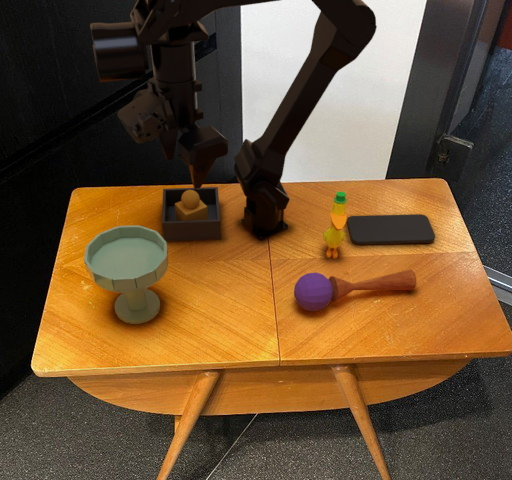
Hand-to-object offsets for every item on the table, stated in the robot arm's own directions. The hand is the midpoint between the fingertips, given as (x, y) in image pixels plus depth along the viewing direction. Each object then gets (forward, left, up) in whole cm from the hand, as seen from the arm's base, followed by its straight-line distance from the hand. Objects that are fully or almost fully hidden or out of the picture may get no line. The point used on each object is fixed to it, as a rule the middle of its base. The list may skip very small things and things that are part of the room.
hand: (183, 173), depth 87 cm
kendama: (-14, +28, -13) cm, 34 cm away
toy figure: (-18, +18, -13) cm, 29 cm away
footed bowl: (+15, +10, -13) cm, 23 cm away
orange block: (-3, -3, -13) cm, 13 cm away
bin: (-3, -3, -13) cm, 14 cm away
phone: (-31, +19, -13) cm, 39 cm away
